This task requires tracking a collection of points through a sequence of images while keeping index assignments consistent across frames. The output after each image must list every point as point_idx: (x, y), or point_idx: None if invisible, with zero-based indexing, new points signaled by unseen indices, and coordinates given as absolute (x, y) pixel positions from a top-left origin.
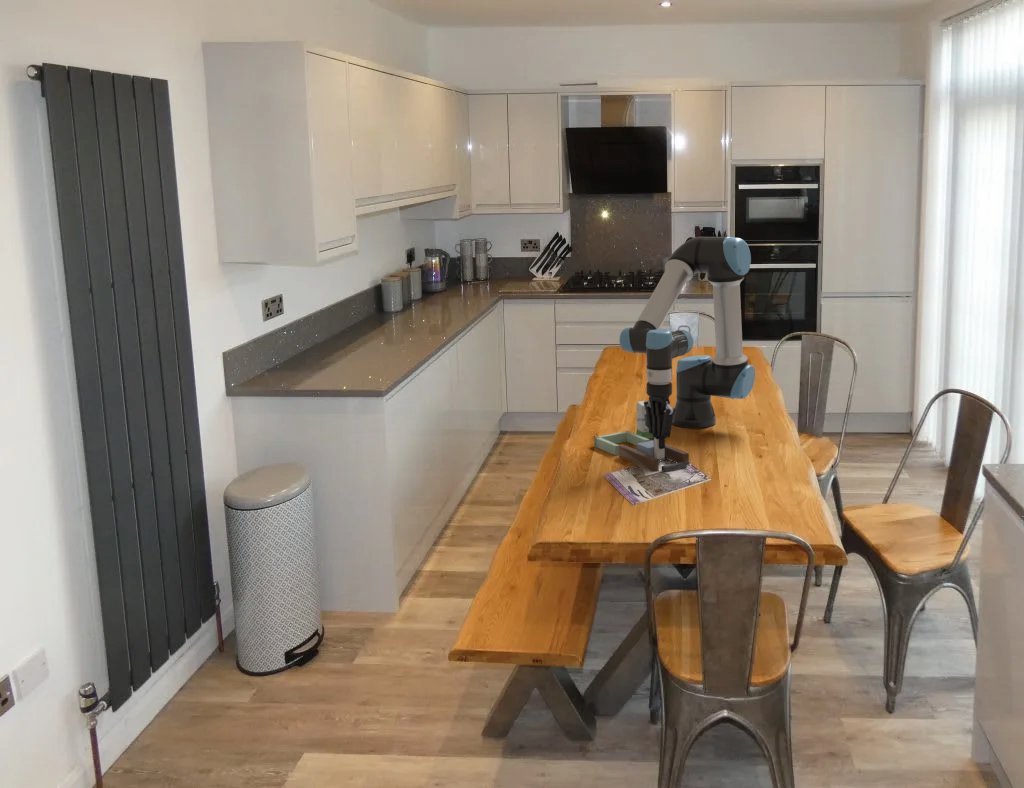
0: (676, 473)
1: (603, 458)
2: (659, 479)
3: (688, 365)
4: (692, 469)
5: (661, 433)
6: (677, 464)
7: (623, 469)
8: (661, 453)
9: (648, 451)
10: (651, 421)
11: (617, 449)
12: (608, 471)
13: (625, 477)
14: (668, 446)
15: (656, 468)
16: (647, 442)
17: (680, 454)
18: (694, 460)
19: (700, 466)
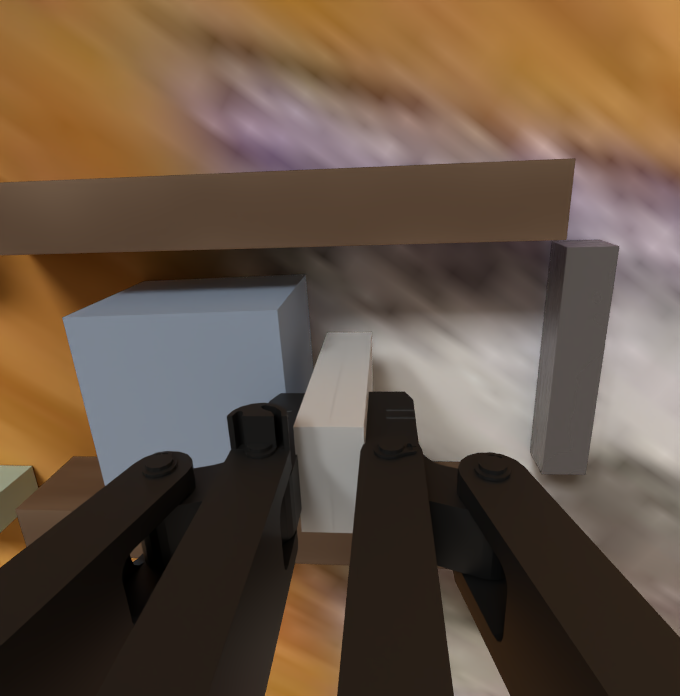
0: (658, 398)
1: None
2: (673, 562)
3: None
4: (675, 225)
5: (471, 605)
6: (601, 348)
7: (344, 609)
8: (371, 382)
9: None
10: (80, 687)
11: (6, 507)
12: (330, 683)
13: (489, 677)
14: (224, 204)
15: None
16: (116, 404)
17: (507, 239)
18: (468, 24)
19: (662, 97)
